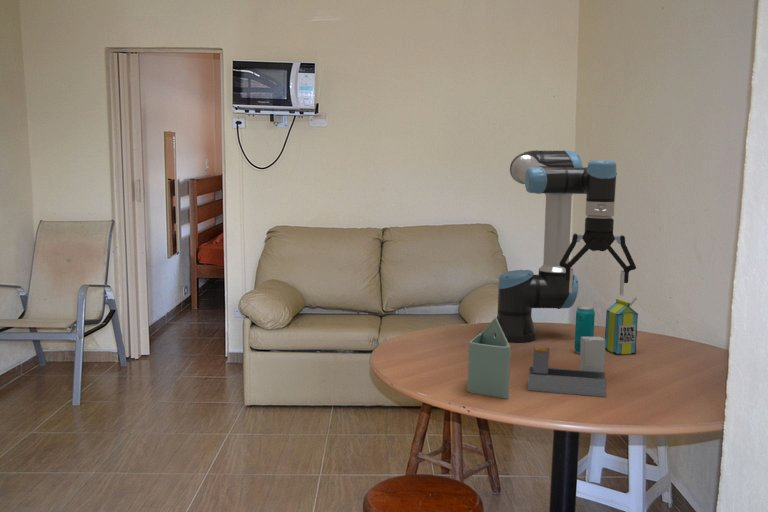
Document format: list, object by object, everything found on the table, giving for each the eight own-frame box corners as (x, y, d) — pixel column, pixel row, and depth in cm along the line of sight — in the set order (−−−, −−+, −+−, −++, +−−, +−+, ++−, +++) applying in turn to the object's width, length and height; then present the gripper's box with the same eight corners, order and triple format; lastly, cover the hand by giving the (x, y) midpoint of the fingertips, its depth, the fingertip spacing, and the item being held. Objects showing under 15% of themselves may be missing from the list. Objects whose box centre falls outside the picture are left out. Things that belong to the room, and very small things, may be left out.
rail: (529, 382, 199) (530, 344, 198) (603, 388, 194) (606, 349, 193) (528, 390, 192) (529, 351, 190) (605, 396, 187) (608, 357, 186)
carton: (638, 354, 230) (641, 298, 227) (616, 355, 228) (619, 299, 226) (625, 348, 237) (628, 294, 235) (604, 349, 235) (607, 295, 233)
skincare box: (599, 377, 204) (602, 335, 203) (604, 382, 200) (606, 339, 198) (578, 377, 204) (580, 335, 203) (582, 381, 200) (584, 339, 198)
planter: (454, 383, 197) (456, 312, 195) (480, 380, 200) (482, 311, 198) (481, 401, 182) (484, 326, 180) (509, 398, 185) (512, 324, 182)
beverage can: (585, 350, 234) (588, 305, 232) (596, 354, 229) (598, 308, 227) (570, 351, 232) (572, 306, 230) (580, 356, 227) (583, 309, 225)
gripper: (552, 216, 195) (549, 293, 198) (649, 219, 190) (644, 298, 192) (552, 214, 203) (549, 288, 205) (645, 217, 197) (641, 293, 200)
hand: (595, 293), depth 199 cm, fingers open, 13 cm apart
